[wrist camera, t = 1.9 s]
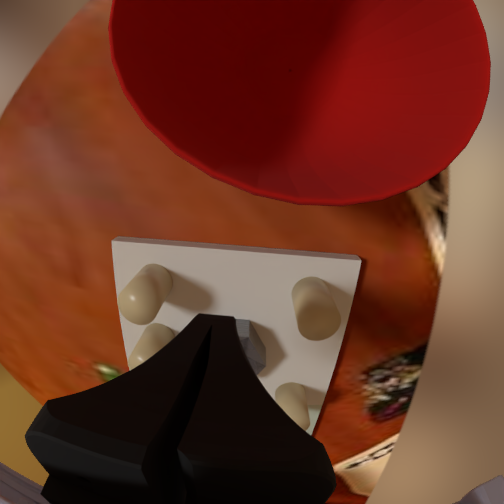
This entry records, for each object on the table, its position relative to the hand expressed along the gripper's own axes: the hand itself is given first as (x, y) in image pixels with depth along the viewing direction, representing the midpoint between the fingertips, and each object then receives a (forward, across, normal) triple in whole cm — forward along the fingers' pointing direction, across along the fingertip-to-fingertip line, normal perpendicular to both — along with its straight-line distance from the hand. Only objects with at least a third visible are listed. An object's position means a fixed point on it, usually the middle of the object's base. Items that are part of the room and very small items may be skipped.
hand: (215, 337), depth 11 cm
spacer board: (+9, 0, +10) cm, 13 cm away
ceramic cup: (+10, -2, -14) cm, 17 cm away
